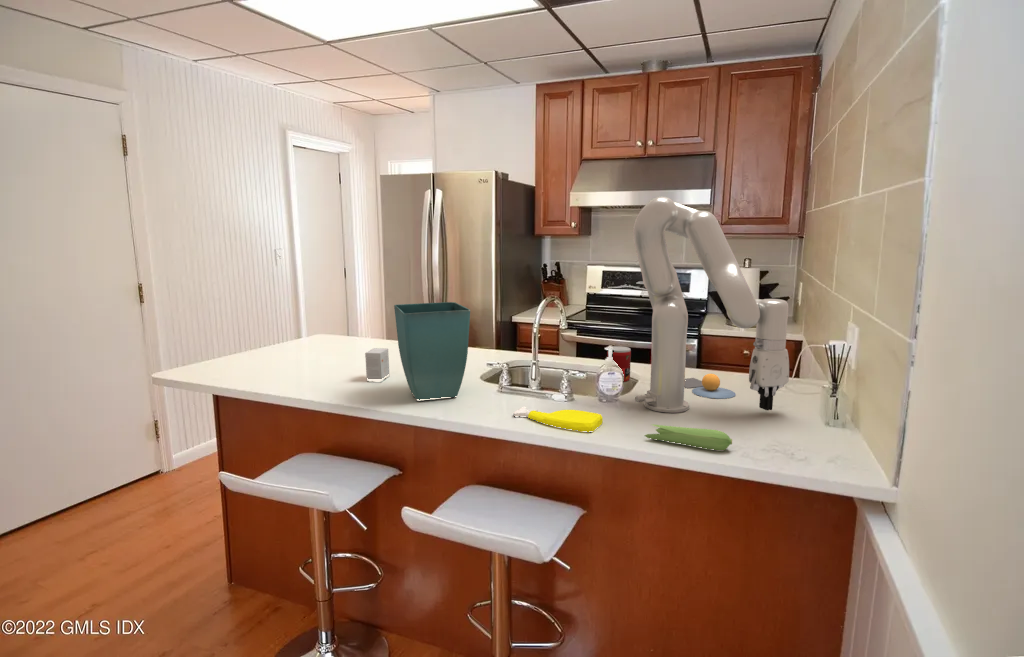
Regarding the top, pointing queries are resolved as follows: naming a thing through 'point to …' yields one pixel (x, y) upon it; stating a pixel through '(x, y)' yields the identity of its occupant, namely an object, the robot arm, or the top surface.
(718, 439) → the edible corn
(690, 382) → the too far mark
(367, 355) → the small box
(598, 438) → the top surface
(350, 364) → the top surface
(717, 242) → the robot arm
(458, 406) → the top surface
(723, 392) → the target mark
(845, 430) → the top surface
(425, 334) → the flower pot
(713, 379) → the ball
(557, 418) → the spray bottle
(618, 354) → the canned food
